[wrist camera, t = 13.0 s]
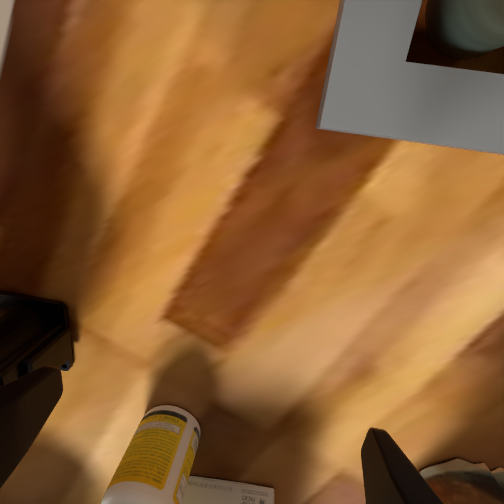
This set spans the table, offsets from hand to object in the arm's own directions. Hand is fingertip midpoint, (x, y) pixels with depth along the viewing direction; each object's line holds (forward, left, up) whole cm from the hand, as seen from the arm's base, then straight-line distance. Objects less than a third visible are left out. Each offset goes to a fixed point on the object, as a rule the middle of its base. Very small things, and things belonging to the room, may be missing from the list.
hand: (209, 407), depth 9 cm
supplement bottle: (-5, -18, -13) cm, 23 cm away
